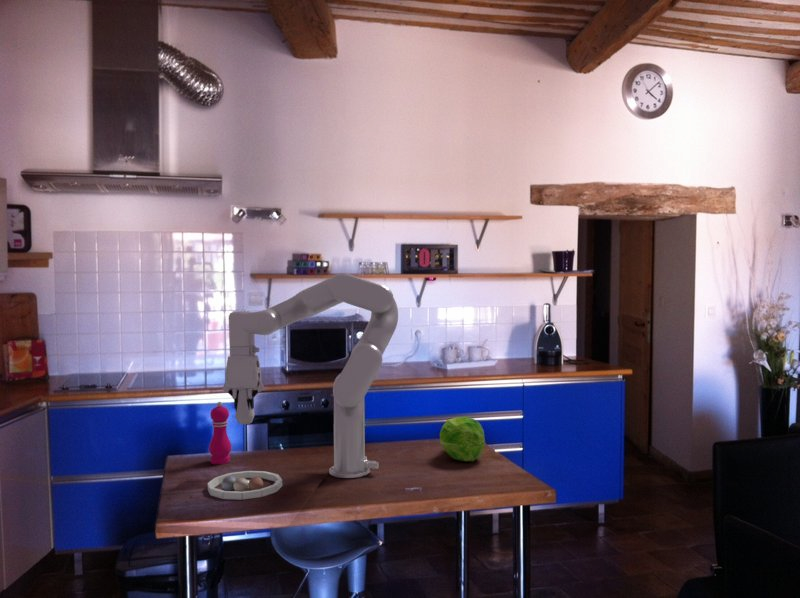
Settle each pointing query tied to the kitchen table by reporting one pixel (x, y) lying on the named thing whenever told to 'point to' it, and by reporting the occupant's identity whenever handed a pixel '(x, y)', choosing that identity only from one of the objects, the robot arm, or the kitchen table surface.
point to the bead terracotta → (255, 483)
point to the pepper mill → (220, 436)
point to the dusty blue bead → (228, 483)
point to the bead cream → (240, 484)
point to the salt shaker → (244, 408)
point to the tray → (245, 493)
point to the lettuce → (462, 438)
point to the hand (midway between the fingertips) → (244, 410)
